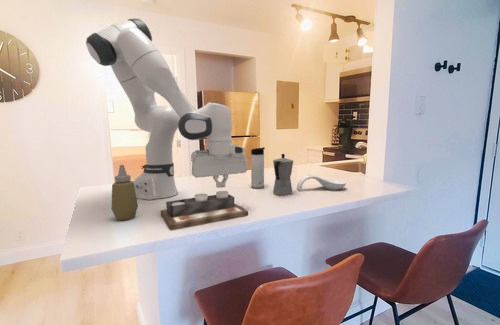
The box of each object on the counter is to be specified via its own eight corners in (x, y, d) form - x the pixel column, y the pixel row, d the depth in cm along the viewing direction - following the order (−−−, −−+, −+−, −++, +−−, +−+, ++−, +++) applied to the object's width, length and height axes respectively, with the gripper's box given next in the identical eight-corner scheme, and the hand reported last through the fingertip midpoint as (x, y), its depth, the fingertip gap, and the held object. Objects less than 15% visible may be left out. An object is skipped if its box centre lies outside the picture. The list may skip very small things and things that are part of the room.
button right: (219, 202, 94) (218, 194, 94) (214, 199, 98) (214, 191, 98) (230, 200, 96) (230, 192, 96) (225, 198, 100) (225, 190, 100)
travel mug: (263, 189, 128) (263, 148, 125) (250, 188, 129) (249, 147, 127) (265, 186, 134) (265, 146, 131) (252, 185, 135) (252, 146, 133)
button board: (170, 230, 78) (169, 213, 78) (160, 214, 92) (159, 200, 92) (248, 215, 91) (247, 201, 90) (228, 203, 105) (228, 191, 104)
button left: (173, 215, 87) (173, 206, 86) (170, 211, 91) (170, 203, 90) (186, 213, 89) (186, 204, 88) (183, 209, 93) (183, 201, 92)
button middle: (197, 206, 90) (196, 197, 90) (193, 202, 94) (193, 194, 94) (209, 204, 92) (209, 195, 92) (205, 201, 96) (205, 193, 96)
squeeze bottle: (111, 223, 84) (106, 167, 82) (113, 215, 92) (108, 164, 89) (138, 219, 88) (135, 165, 85) (138, 212, 95) (135, 162, 92)
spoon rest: (337, 185, 135) (337, 172, 134) (350, 191, 124) (351, 176, 123) (293, 188, 130) (294, 174, 130) (303, 194, 119) (303, 178, 118)
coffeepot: (278, 189, 128) (278, 152, 125) (297, 191, 124) (297, 152, 121) (265, 197, 114) (265, 155, 112) (286, 199, 110) (286, 156, 108)
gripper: (193, 151, 86) (195, 192, 88) (249, 148, 96) (249, 185, 98) (188, 149, 92) (190, 188, 94) (241, 147, 101) (242, 182, 103)
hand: (220, 187), depth 96 cm, fingers closed
